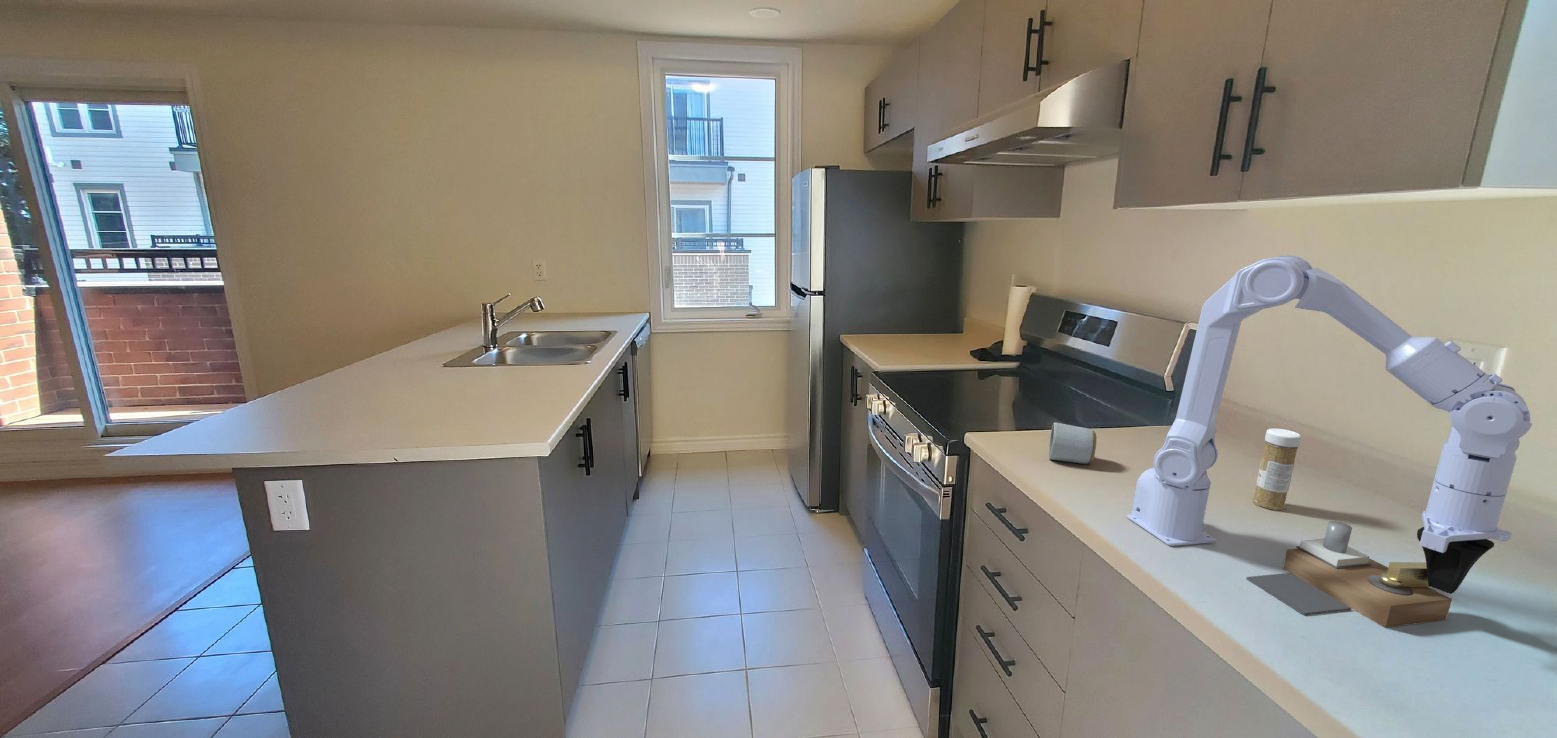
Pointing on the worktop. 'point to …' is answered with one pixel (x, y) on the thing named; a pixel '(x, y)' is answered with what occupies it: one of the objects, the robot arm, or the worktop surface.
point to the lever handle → (1405, 575)
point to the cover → (1335, 546)
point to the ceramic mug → (1072, 444)
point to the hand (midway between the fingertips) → (1441, 589)
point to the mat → (1298, 594)
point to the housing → (1369, 590)
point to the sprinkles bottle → (1276, 468)
